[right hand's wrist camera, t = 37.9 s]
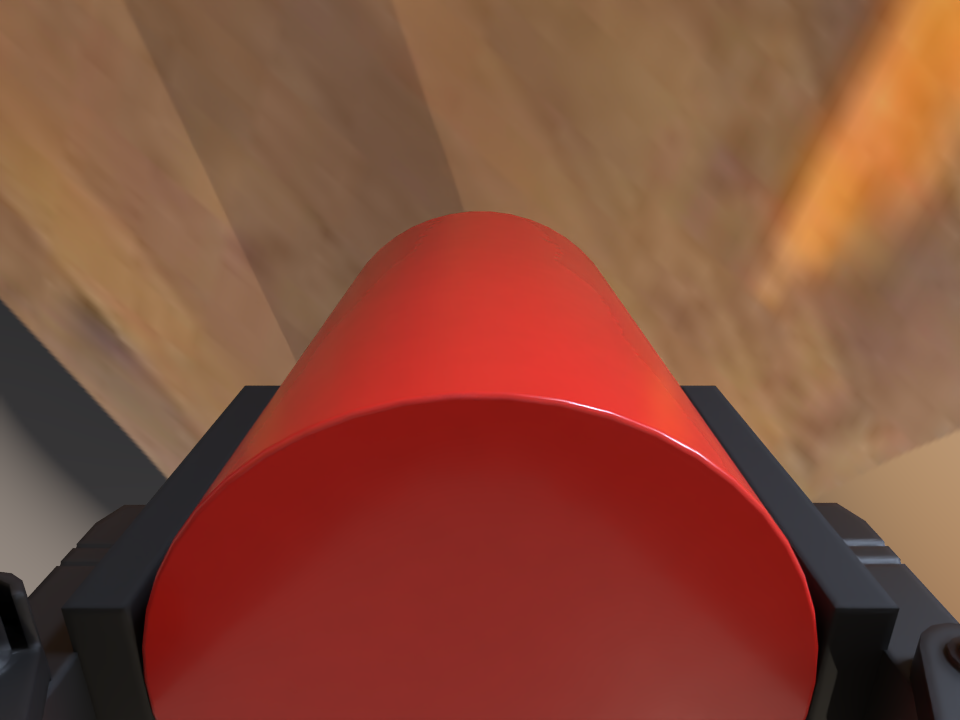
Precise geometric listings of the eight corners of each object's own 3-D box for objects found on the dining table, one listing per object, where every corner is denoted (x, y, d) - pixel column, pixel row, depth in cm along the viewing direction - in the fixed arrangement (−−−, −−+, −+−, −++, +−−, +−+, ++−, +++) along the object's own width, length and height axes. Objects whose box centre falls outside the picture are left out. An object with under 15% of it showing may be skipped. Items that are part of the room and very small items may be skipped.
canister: (421, 515, 21) (357, 965, 10) (282, 292, 19) (-11, 574, 8) (663, 413, 20) (892, 803, 9) (552, 156, 17) (684, 255, 6)
